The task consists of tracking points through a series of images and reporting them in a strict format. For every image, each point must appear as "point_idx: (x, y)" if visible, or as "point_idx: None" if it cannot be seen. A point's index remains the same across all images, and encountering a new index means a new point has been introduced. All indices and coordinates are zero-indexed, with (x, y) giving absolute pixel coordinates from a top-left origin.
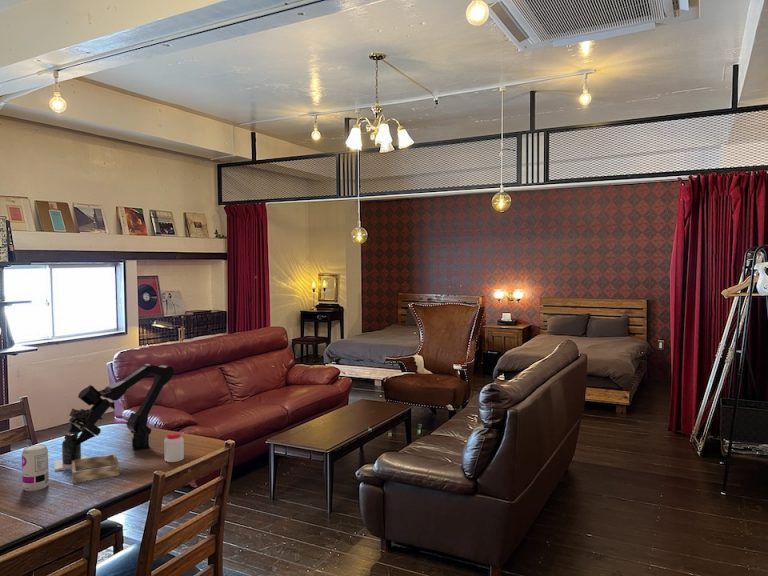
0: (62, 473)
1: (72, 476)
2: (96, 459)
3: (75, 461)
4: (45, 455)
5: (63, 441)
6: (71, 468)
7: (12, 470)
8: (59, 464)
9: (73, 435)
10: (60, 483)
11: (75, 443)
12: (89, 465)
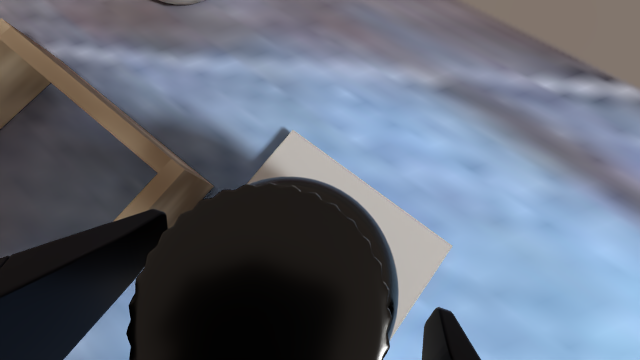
0: (225, 132)
1: (121, 110)
2: None
3: (157, 179)
4: None
5: (338, 201)
6: None
7: (538, 65)
8: None
9: (157, 266)
10: (118, 37)
11: (131, 219)
12: None
